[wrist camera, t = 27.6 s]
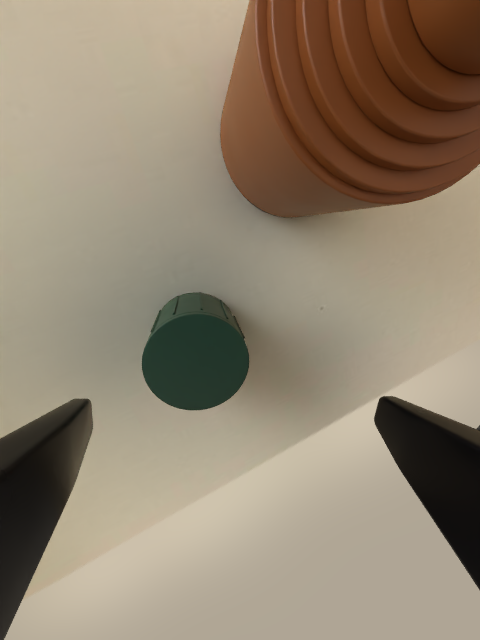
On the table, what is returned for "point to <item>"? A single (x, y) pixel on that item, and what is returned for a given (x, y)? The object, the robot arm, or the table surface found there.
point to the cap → (195, 353)
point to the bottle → (352, 103)
